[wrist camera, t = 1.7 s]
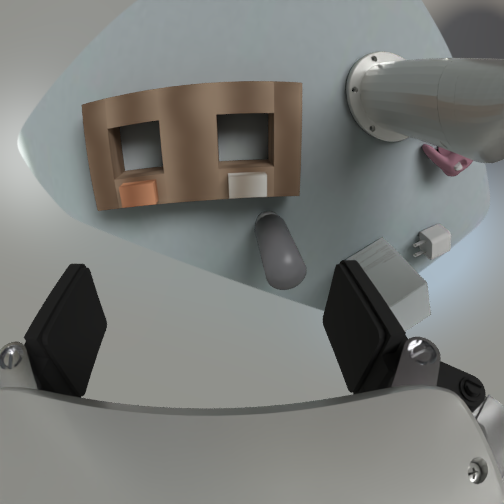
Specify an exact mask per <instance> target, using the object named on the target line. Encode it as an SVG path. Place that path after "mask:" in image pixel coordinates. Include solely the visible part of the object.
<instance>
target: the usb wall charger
mask: <svg viewBox="0 0 504 504" xmlns="http://www.w3.org/2000/svg"><path fill="white" fill-rule="evenodd" d="M414 245H416V246H414ZM413 246H414V247H417V246H419V248H420V250H421V251H419V252H417V253H415V254H413V256H414V257H417V256H420V255H422V254H425V255H426V256H427V257H428V258H429V259H430V260H432V259H434V258H436V257H438V256H440V255H442V254H444V253H446V252H448V251H450V247H451V233H450V232H449V231H448V230H447V229H446V228H445V227H443V226H442V225H441V224H437V225H434V226H432V227H430V228H427V229H425V230H423V231H421V232H419V242H417V243H415V244H413ZM415 255H417V256H415Z"/></svg>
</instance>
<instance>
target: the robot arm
mask: <svg viewBox="0 0 504 504" xmlns="http://www.w3.org/2000/svg"><path fill="white" fill-rule="evenodd" d="M371 58H372V59H371ZM352 88H353V92H352ZM346 95H347V102H348V105H349V109H350V111H351V113H352V115H353V117H354V119H355V120H356V122H357V123H358V125H359V126H360V127H361V128H362V129H363V130H364V131H365V132H367V133H368V134H370V135H371V136H373V137H375V138H377V139H380V140H383V141H389V142H397V141H401V140H404V139H407V138H408V137H412V138H415V139H418V140H421V141H424V142H427V143H430V144H433V145H436V146H438V147H441V148H444V149H446V150H449V151H451V152H454V153H456V154H459V155H461V156H463V157H466V158H468V159H471V160H473V161H476V162H480V163H495V162H498V161H501V160H503V159H504V59H473V58H472V59H471V58H434V59H415V60H405V59H404V58H402V57H400V56H399V55H396V54H394V53H390V52H374V53H370V54H367V55H365V56H363V57H362V58H360V59H359V60H358V61H357V62H356V63H355V64H354V66H353V67H352V69H351V71H350V73H349V75H348V79H347V85H346ZM370 127H371V128H370ZM323 325H324V328H325V331H326V333H327V336H328V338H329V341H330V343H331V346H332V348H333V351H334V353H335V356H336V359H337V361H338V363H339V366H340V369H341V372H342V374H343V377H344V379H345V382H346V385H347V388H348V390H349V391H350V392H353V393H354V394H353V395H348V396H342V397H336V398H329V399H323V400H317V401H310V402H302V403H294V404H285V405H274V406H262V407H245V408H216V409H215V408H214V409H199V408H165V407H150V406H139V405H128V404H120V403H112V402H104V401H97V400H91V399H85V398H81V396H83V395H84V394H85V392H86V388H87V385H88V382H89V379H90V375H91V372H92V369H93V366H94V363H95V360H96V357H97V353H98V351H99V348H100V345H101V342H102V339H103V337H104V334H105V331H106V328H107V321H106V318H105V315H104V312H103V310H102V306H101V304H100V301H99V298H98V295H97V291H96V288H95V285H94V282H93V279H92V275H91V272H90V270H89V268H86V266H85V265H84V264H70V265H69V266H68V268H67V269H66V271H65V272H64V274H63V275H62V276H61V278H60V279H59V281H58V282H57V284H56V286H55V287H54V288H53V290H52V291H51V293H50V294H49V296H48V298H47V299H46V301H45V302H44V304H43V306H42V307H41V309H40V310H39V312H38V314H37V315H36V317H35V319H34V320H33V322H32V324H31V326H30V327H29V329H28V331H27V333H26V334H25V336H24V338H25V340H26V343H25V345H23V344H22V343H20V342H11V343H8V344H7V345H5V346H4V347H3V348H2V349H1V350H0V504H504V483H503V480H502V478H503V476H504V406H503V405H502V404H501V403H499V402H498V401H497V400H495V399H494V398H493V397H492V396H490V395H488V396H487V397H486V396H485V389H484V386H483V384H482V383H481V381H480V380H479V379H478V378H476V377H475V376H473V375H471V374H468V373H466V372H464V371H461V370H459V369H457V368H455V367H452V366H450V365H448V364H445V363H443V362H441V361H440V352H439V350H438V348H437V347H436V345H435V344H434V343H432V342H431V341H430V340H428V339H426V338H422V337H412V338H409V339H408V338H407V337H406V335H405V333H406V332H405V331H404V329H403V328H402V326H401V324H400V323H399V321H398V320H397V318H396V317H395V315H394V314H393V312H392V311H391V309H390V308H389V306H388V305H387V303H386V302H385V300H384V299H383V297H382V296H381V294H380V293H379V291H378V290H377V288H376V287H375V285H374V284H373V283H372V281H371V280H370V278H369V277H368V276H367V274H366V273H365V271H364V270H363V268H362V267H361V266H360V264H359V263H358V262H357V261H356V260H342V261H341V262H340V264H337V265H336V267H335V271H334V275H333V279H332V284H331V288H330V292H329V296H328V300H327V304H326V307H325V311H324V315H323Z"/></svg>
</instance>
